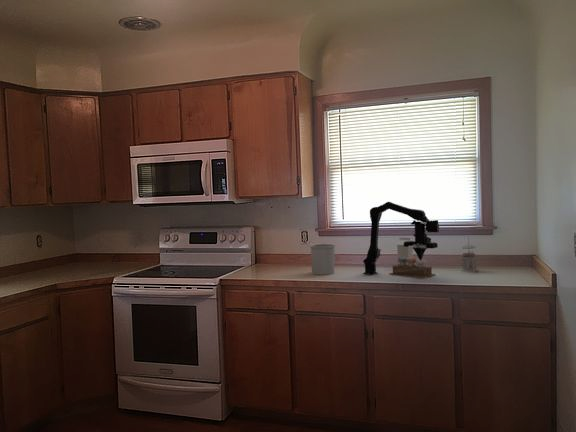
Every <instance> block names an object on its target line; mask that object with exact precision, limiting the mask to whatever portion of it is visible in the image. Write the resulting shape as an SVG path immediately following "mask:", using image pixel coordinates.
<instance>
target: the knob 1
mask: <svg viewBox="0 0 576 432" xmlns="http://www.w3.org/2000/svg"><path fill="white" fill-rule="evenodd" d="M398 261H399V266H406V261H407V258H406V257H400V258H398V257H397V262H398Z"/></svg>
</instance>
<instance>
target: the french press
mask: <svg viewBox="0 0 576 432" xmlns="http://www.w3.org/2000/svg"><path fill="white" fill-rule="evenodd" d="M470 230H471V228H470V227H468V228H466V231H467V236H468V237H467V239H468V241H467V242H468V244H464V245H462V246H461V248H462V249H465V250H471V249H476V245H473V244H470V242H469V241H470V240H469V239H470V237H469V233H470V232H469V231H470ZM475 255H476V253H474V250H471V251H468V252H464V253H462V256H461V265H462V267H461V268H460V271H462V272H467V273H468V272H470V273H471V272H474V273H475V272H478V271H479V270H478V268H477V256H475Z"/></svg>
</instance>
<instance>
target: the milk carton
mask: <svg viewBox="0 0 576 432" xmlns="http://www.w3.org/2000/svg"><path fill="white" fill-rule="evenodd" d="M406 241H412V240H411V237H399V240H398V242H397V244H396V247H397V250H396V251H397V253H396V254H397V259H398V258H400V257H406V258H414V255H413V252H414V249H412V248H413V246H409V247H404V242H406ZM406 264H408V262H407V261H406ZM397 265H399V261H398V260H397Z"/></svg>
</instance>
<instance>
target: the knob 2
mask: <svg viewBox="0 0 576 432" xmlns="http://www.w3.org/2000/svg"><path fill="white" fill-rule="evenodd" d="M426 262H427V261H426V259H424V258H422V260H419V258H416V262H415V264H417V267H418V268H424V266H425V264H427V263H426Z"/></svg>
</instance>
